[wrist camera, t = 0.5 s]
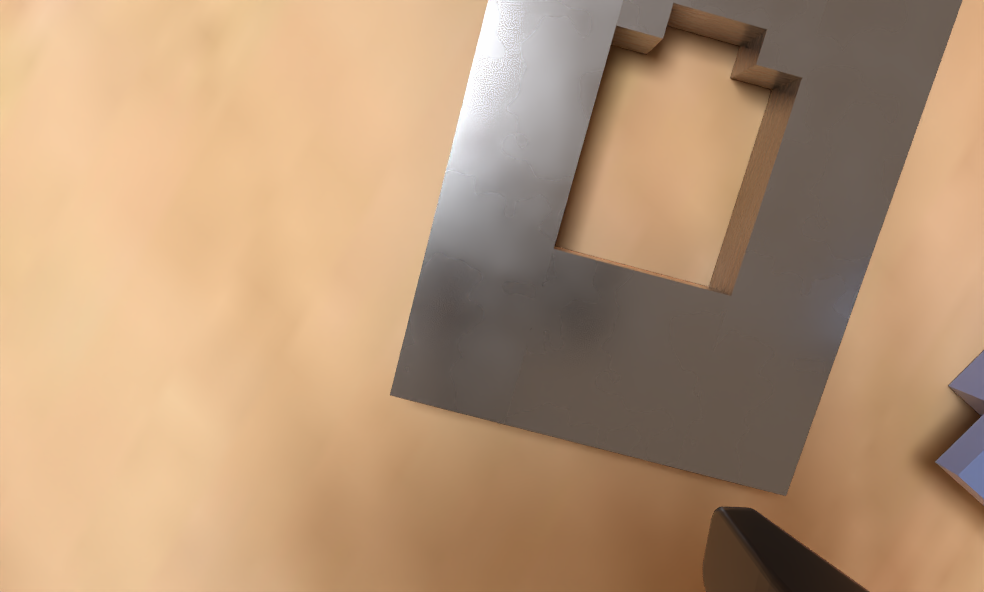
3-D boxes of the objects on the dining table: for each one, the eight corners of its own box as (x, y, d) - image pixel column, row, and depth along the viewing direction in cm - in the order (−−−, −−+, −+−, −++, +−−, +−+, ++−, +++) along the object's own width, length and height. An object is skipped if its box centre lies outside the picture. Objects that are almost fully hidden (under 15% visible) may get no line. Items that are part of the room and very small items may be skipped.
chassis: (759, 469, 22) (785, 495, 20) (399, 377, 22) (389, 395, 20) (944, -64, 20) (995, -94, 18) (539, -182, 19) (544, -227, 17)
